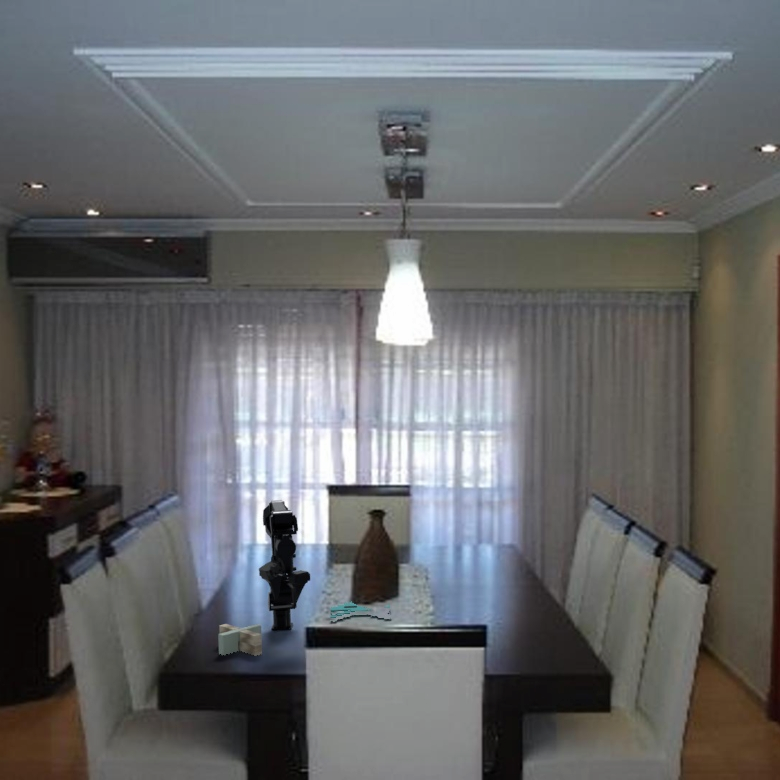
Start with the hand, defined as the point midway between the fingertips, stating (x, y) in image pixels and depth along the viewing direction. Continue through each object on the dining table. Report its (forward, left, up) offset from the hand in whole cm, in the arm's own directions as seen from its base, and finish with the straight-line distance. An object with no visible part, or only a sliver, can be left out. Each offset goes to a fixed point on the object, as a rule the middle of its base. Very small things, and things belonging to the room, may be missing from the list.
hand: (285, 601), depth 302 cm
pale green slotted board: (+9, -13, -12) cm, 20 cm away
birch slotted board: (+9, -13, -12) cm, 20 cm away
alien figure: (-29, +22, -13) cm, 38 cm away
